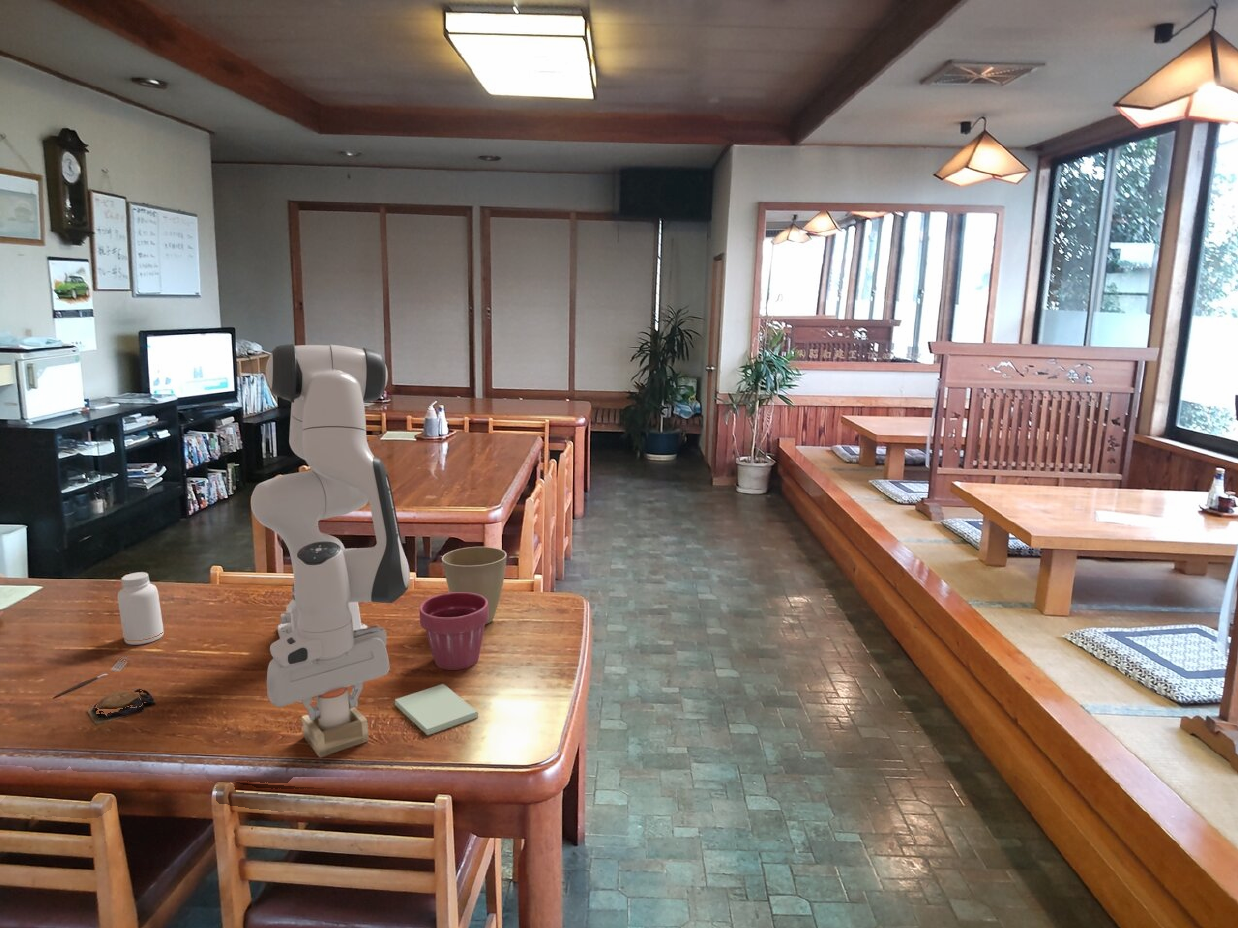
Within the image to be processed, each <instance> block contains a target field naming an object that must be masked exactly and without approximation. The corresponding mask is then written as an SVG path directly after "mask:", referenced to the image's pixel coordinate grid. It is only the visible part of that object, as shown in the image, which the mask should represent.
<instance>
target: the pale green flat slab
mask: <svg viewBox="0 0 1238 928" xmlns="http://www.w3.org/2000/svg"><path fill="white" fill-rule="evenodd" d="M394 704H395V707H396V708H397V709H398V710H400V711H401V712H402V713H403V714H404V715H405V716H406V717H407V718H408V719H409V720H410V721H411V722H412V723H414V725H416V726H417V727H418V728H419V729H420V730H421V731H422V732H423V733H424V734H425V735H426V736H430V735H432V734H433V735H434V734H436V733H438V732H441V731H444V730H447V729H449V728H453V727H455V726H458V725H460V724H461V725H462V724H464V723H466V722H469V721H472V720H475V719H477V718H479V711H478V710H477V709H475V708H474V706H471V704H469V703H468V702H467V701H466V700H464V699H462V697H461V696H459V695H458V694H457V693H455V692H454V691H453V689H451V688H449V687H448V686H447V685H445V684H444V683H441V684H438V685H436V686H433V687H429V688H426V689H423V690H420V691H417V692H413V693H410V694H408V695H405V696H402V697H401V696H400V697H398V698H395V699H394Z"/></svg>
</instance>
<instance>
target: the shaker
mask: <svg viewBox="0 0 1238 928" xmlns="http://www.w3.org/2000/svg"><path fill="white" fill-rule="evenodd" d="M348 696H349V689H348V687H343V688H340V689H337V690H333V691H330V692H327V693H324V694H322V695H319V696H315V698H316V699H315V701H316V706H317V708H319V710H320V714H319V715H320V718H319V719H318V721H319V729H320V730H321V732H323V731H326V730H329V729H332V728H335V727H338V726H341V725H345V724H348V723H351V722H350V711H349V700H348Z"/></svg>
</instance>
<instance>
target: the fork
mask: <svg viewBox="0 0 1238 928" xmlns="http://www.w3.org/2000/svg"><path fill="white" fill-rule="evenodd" d="M121 658H122V660H123V659H124V660H125V659H127V660H128V659H129V660H130V658H128V657H126V656H124V657H123V656H121V657H120V659H121ZM127 663H128V662H127V661H125V662H124V661H122V662H121V661H119V660H118V661H117V662H116V663H115V665H113V666H112V668H110V670H111V671H113V672H114V671H115V672H120V671H122V669H123V668H124V667H125V666H126V664H127ZM108 675H109V674H108V673H103V674H100V675H98V676H95V677H93V678H91V679H88V680H85V681H83V682H80V683H78V684H75V685H74V686H71V687H70V688H68V689H66V690H64V691H62V692H60V693H58V694H57V695H55V696H53V699H57V698H59V697H61V696H64V695H67V694H68V693H70V692H73V691H75V690H78V689H80V688H83V687H85V686H87V685H89V684H90V683H92V682H94V681H96V680H98V679H100V678H102V677H105V676H108Z"/></svg>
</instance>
